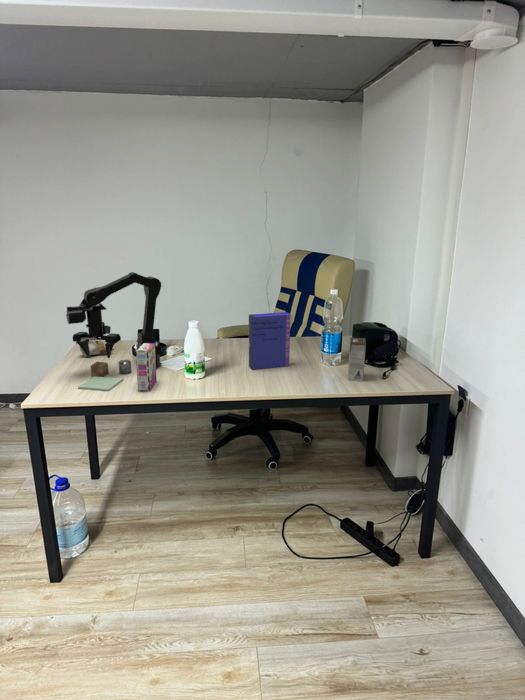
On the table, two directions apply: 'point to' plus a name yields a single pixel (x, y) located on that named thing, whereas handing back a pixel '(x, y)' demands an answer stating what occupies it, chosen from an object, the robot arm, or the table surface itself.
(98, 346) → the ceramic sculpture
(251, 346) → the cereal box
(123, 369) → the metal cylinder
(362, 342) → the coffee box
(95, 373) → the walnut block
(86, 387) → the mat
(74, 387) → the table surface
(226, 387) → the table surface
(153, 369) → the candy bar box
